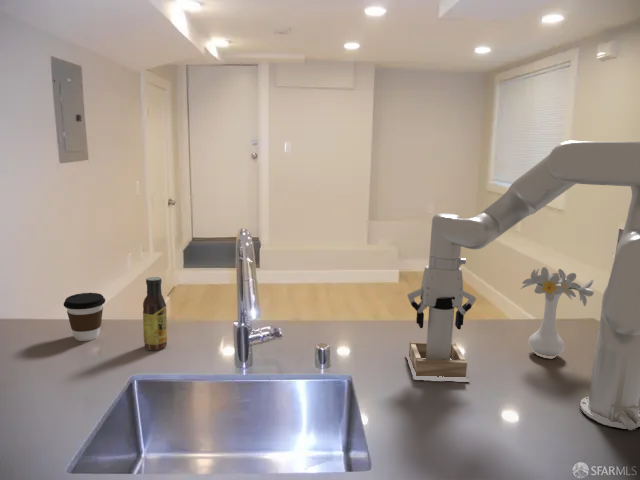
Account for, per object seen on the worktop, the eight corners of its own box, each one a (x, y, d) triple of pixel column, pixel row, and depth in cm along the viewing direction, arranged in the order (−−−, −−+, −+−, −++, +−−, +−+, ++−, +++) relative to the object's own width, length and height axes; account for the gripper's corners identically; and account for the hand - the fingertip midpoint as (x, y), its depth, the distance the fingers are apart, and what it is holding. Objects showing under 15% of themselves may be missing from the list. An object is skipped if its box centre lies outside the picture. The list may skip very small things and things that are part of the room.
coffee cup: (57, 341, 144) (54, 301, 141) (85, 328, 154) (82, 290, 152) (89, 346, 141) (86, 306, 138) (115, 333, 151) (113, 294, 149)
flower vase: (590, 365, 138) (603, 277, 133) (523, 363, 138) (534, 275, 133) (567, 345, 151) (578, 264, 146) (506, 344, 151) (514, 263, 146)
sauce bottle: (163, 351, 139) (160, 282, 135) (140, 351, 139) (137, 281, 135) (170, 342, 145) (168, 275, 141) (149, 341, 146) (146, 275, 142)
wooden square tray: (469, 382, 126) (471, 364, 125) (413, 380, 126) (414, 362, 125) (456, 358, 140) (457, 341, 139) (405, 356, 140) (406, 340, 139)
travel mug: (444, 374, 128) (450, 299, 125) (421, 366, 132) (426, 293, 128) (454, 366, 133) (460, 293, 129) (431, 359, 137) (436, 288, 133)
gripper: (474, 260, 131) (468, 322, 134) (407, 258, 131) (403, 320, 135) (483, 267, 124) (476, 333, 127) (412, 265, 124) (407, 331, 127)
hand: (439, 326), depth 131 cm, fingers open, 9 cm apart
